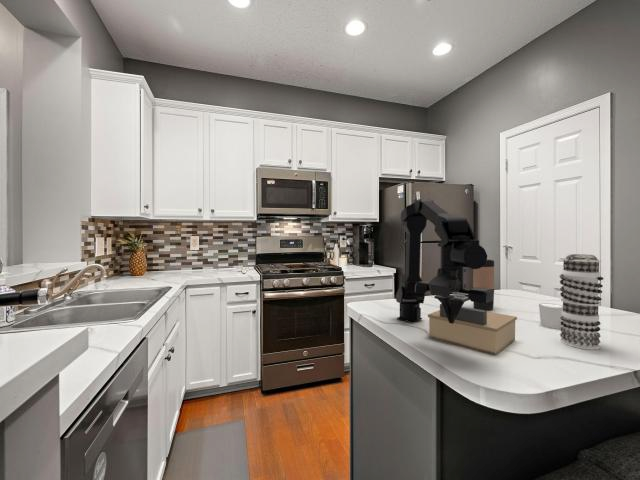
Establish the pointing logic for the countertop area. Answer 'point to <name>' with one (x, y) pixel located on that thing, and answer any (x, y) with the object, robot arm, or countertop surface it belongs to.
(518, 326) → the countertop surface
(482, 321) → the carton lid
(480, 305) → the travel mug
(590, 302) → the decorative candle
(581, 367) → the countertop surface
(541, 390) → the countertop surface
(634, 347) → the countertop surface
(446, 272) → the robot arm
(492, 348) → the carton
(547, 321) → the shot glass
